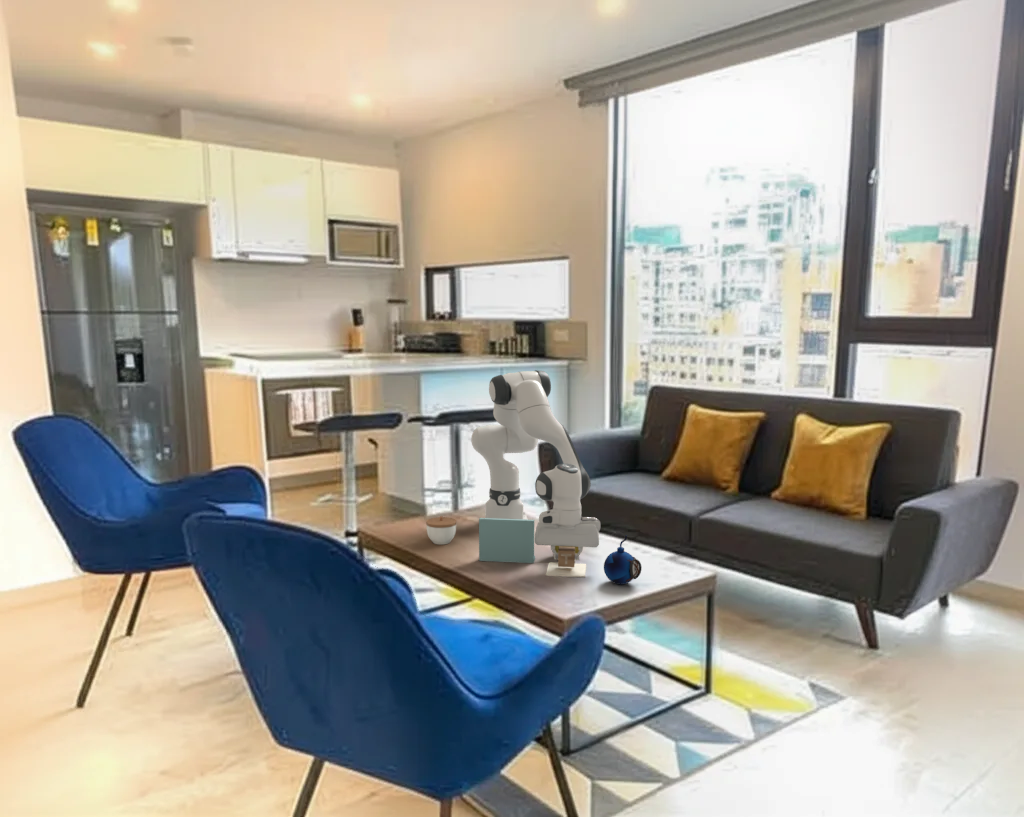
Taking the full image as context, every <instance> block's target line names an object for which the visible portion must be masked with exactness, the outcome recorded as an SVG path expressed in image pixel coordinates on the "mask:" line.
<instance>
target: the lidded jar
mask: <svg viewBox="0 0 1024 817" xmlns="http://www.w3.org/2000/svg"><path fill="white" fill-rule="evenodd" d="M425 523H426V533H427V536H428V538H429V539H430V541H431V542H432V543H433V544H434V545H447V544H450V543H451V541H452V540H453V539H454V537H455V536H456V533H457V519H455V518H452V517H447V516H446V517H445V516H443V515H440V516H438V517H432V518H429V519H426V521H425Z"/></svg>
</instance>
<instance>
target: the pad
mask: <svg viewBox="0 0 1024 817" xmlns="http://www.w3.org/2000/svg"><path fill="white" fill-rule="evenodd" d="M586 571H587V563H576V562H575V565H574V567H558V562H550V561H549V562H548V566H547V570H546V573H545V576H547V577H567V578H586V575H587V574H586V573H587V572H586Z"/></svg>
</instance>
